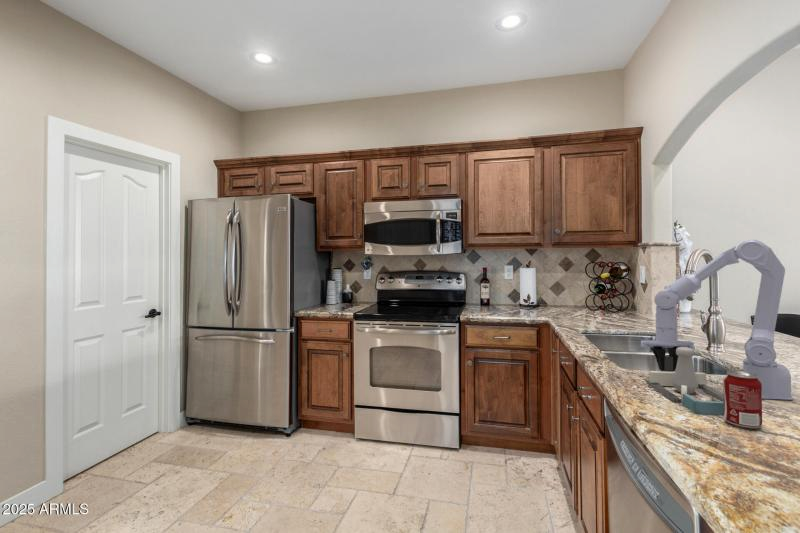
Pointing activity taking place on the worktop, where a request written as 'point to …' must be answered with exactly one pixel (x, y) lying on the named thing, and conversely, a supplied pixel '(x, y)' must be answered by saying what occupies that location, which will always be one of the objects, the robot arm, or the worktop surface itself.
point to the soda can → (742, 399)
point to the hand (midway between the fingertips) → (667, 370)
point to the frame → (701, 404)
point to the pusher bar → (671, 374)
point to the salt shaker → (685, 370)
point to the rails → (677, 399)
